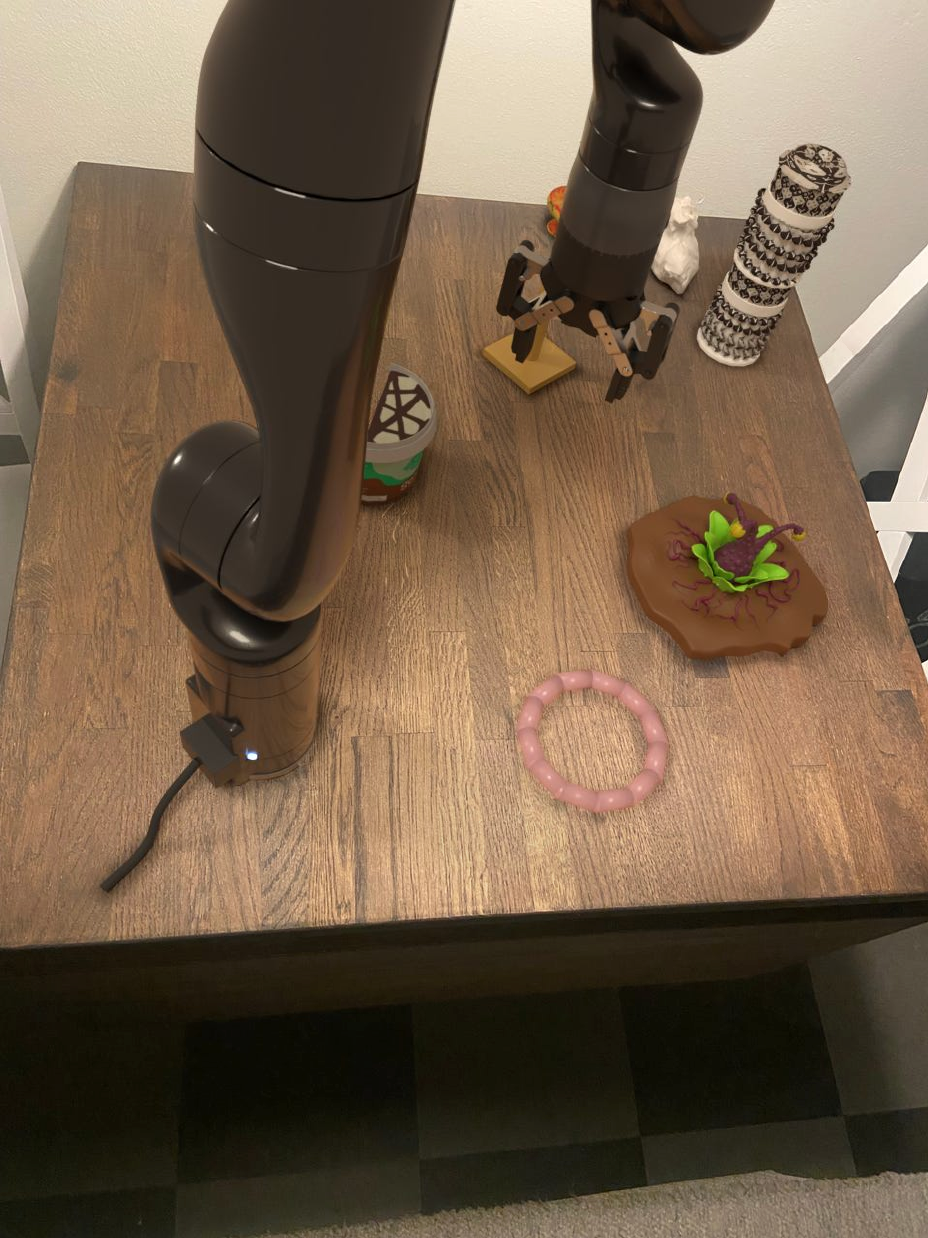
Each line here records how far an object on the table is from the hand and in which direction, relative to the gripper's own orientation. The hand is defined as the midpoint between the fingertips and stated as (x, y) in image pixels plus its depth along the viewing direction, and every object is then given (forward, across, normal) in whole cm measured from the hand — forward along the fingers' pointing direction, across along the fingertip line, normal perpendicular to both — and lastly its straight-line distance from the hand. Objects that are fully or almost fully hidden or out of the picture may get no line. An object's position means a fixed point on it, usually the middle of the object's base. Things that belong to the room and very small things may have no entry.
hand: (567, 376), depth 79 cm
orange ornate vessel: (+24, -15, +47) cm, 55 cm away
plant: (+20, +21, +2) cm, 29 cm away
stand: (+22, -9, +21) cm, 31 cm away
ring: (+17, +16, -22) cm, 32 cm away
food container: (+19, -14, -4) cm, 24 cm away
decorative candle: (+24, +11, +40) cm, 48 cm away
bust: (+24, 0, +48) cm, 54 cm away
